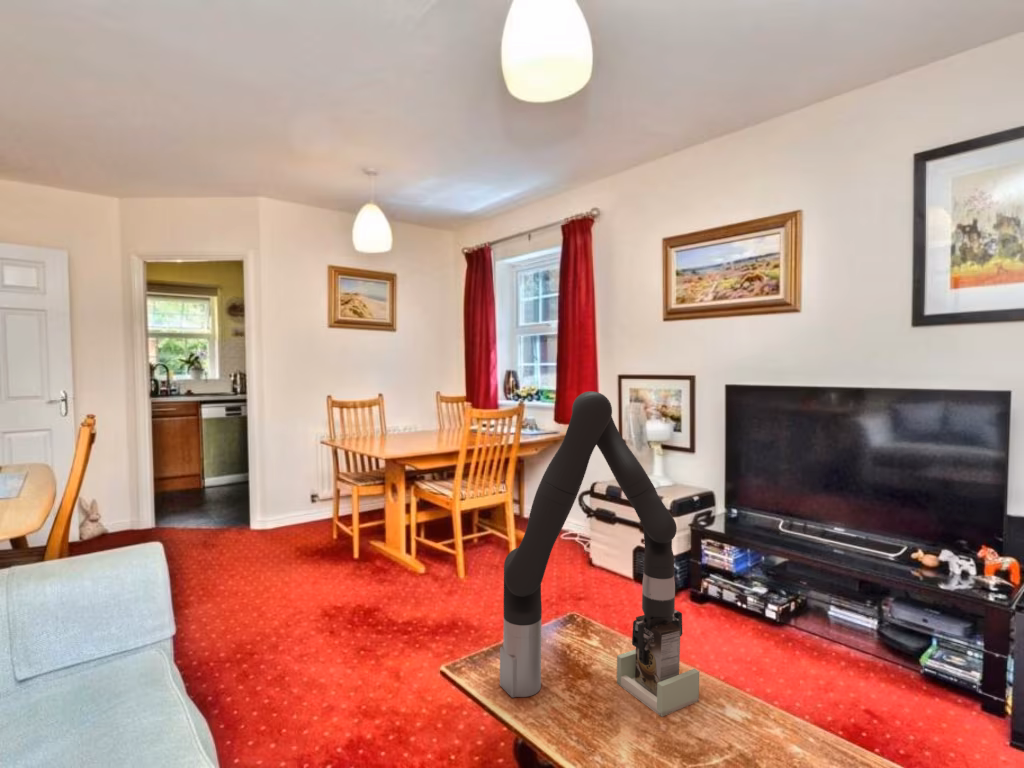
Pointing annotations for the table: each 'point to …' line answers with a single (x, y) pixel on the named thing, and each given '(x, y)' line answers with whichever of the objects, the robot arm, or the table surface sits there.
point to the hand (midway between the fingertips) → (657, 658)
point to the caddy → (659, 687)
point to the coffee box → (659, 656)
